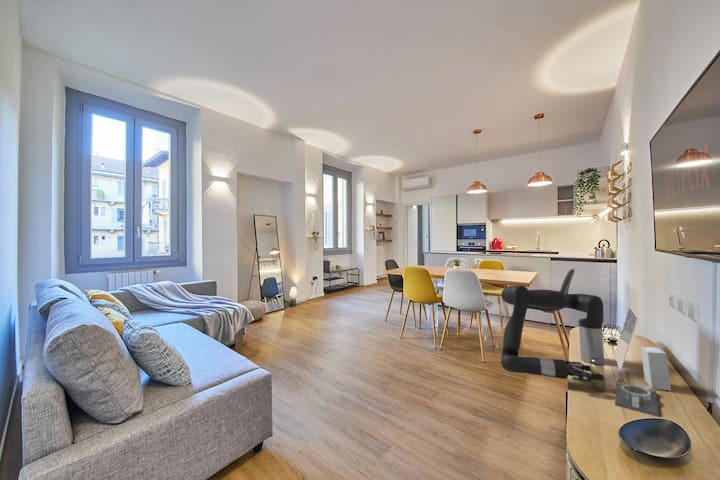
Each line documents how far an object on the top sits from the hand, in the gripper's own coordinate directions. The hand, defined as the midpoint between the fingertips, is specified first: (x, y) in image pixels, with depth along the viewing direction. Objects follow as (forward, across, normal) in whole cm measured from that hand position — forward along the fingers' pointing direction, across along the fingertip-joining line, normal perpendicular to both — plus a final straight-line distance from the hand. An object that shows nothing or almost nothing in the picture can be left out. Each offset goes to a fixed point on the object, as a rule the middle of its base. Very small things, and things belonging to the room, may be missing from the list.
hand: (599, 373), depth 116 cm
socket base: (+9, -5, +6) cm, 12 cm away
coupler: (-1, 0, +6) cm, 7 cm away
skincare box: (+22, +11, +7) cm, 25 cm away
